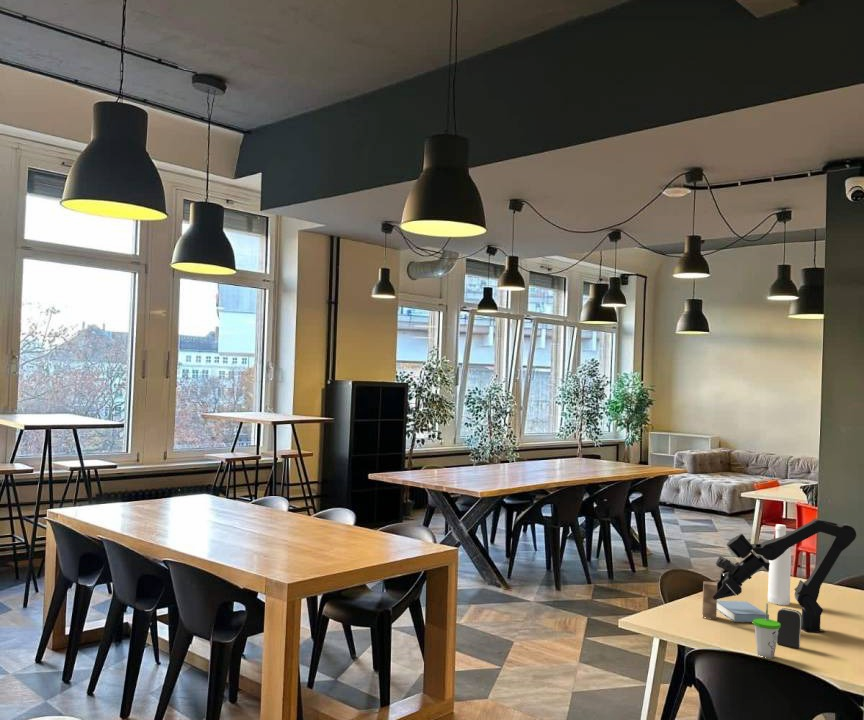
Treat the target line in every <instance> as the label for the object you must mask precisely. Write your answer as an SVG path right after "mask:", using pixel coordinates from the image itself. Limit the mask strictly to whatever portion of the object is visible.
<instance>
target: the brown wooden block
mask: <svg viewBox="0 0 864 720" xmlns="http://www.w3.org/2000/svg"><path fill="white" fill-rule="evenodd" d="M717 583H718V582H716V581H715V582H713V581H704V580H703V583H702V585H703V586H702V611H701V613H702V615H703V617H706V618H711V619H710V620H713V619H716V620H717V611H718V610H717V601H718V599H716V600H714V599H713V596H714V595H715V594H716V593H717ZM702 615H701V616H702ZM703 617H702V618H703Z"/></svg>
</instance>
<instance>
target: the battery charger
mask: <svg viewBox="0 0 864 720" xmlns="http://www.w3.org/2000/svg"><path fill="white" fill-rule="evenodd" d="M776 615H777V616H776V621H777V622H779V623H780V624H781V627H780V628H779V631H778V637H777V643H776V645H781V646H784V647H789V648H795V649H800V647H801V632H802V631H801V630H802V629H801V627H802V612H800V611H799V610H796V609H791V608H784V607H783V608H780V609H778V611H777V614H776Z"/></svg>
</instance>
